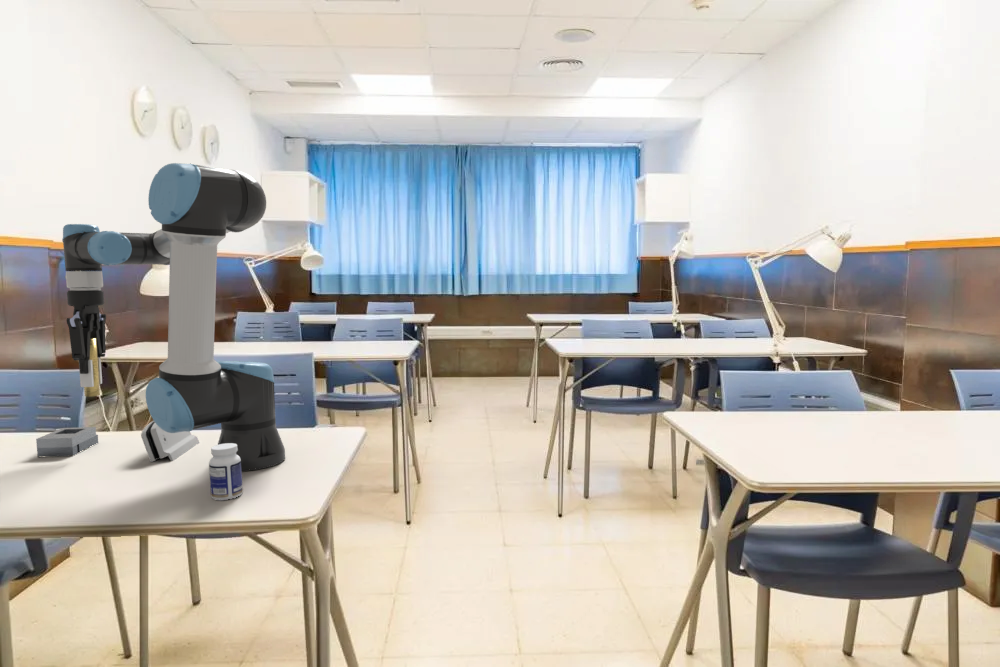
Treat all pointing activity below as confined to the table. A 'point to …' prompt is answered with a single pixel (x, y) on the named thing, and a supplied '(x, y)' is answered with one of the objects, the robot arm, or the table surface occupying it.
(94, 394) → the pin
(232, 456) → the pill bottle
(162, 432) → the white piece
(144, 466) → the table surface
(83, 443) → the grey block with pocket
